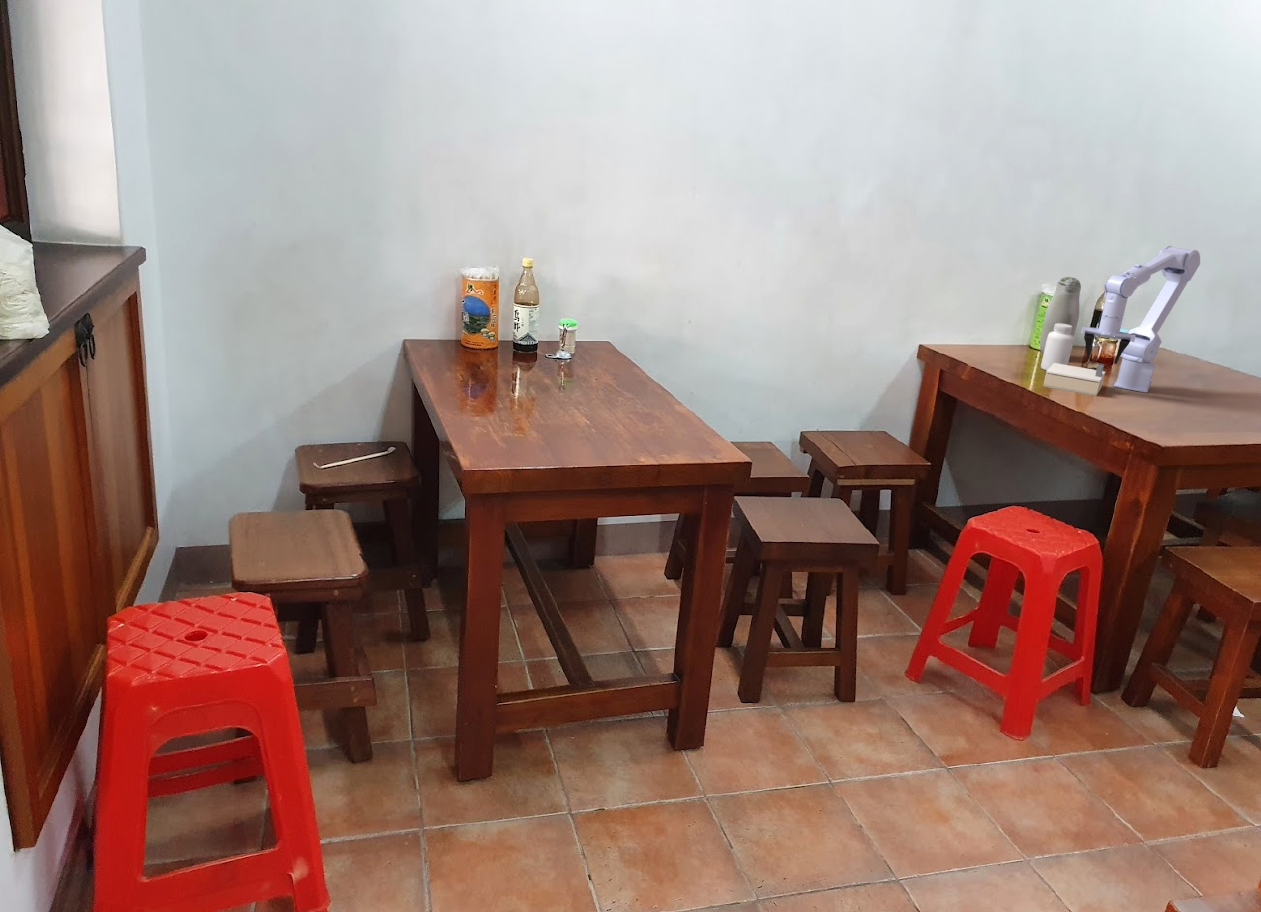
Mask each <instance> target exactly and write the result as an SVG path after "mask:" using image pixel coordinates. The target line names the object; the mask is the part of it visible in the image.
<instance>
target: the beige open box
mask: <svg viewBox="0 0 1261 912" xmlns="http://www.w3.org/2000/svg"><path fill="white" fill-rule="evenodd" d="M1105 375H1106V373H1105V374H1104V376H1103V377H1102V379H1101V381H1100V382H1096V381H1090V380H1084V379H1079V378H1073V377H1068V376H1062V375H1056V374H1051V373H1046V372H1045V375H1044V380H1043V384H1042V385H1043V387H1045V388H1051V389H1055V390H1062V391H1066V392H1072V393H1077V394H1083V395H1088V396H1094V397H1097V395H1098V393H1099V392H1100V390H1102V387H1103V384H1104V380H1105Z"/></svg>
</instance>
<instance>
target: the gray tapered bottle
mask: <svg viewBox="0 0 1261 912" xmlns="http://www.w3.org/2000/svg"><path fill="white" fill-rule="evenodd" d="M1081 290H1082V285H1081V282H1080V280H1079V279H1077V278H1075V277H1072V276H1066V277H1062V278H1061V279H1060V280H1059V281H1058V282H1057V284H1056V288H1055V290H1054V293H1053V296H1052V298H1051V299H1050V302H1049V303H1048V306H1047V308H1046V311H1045V315H1044V317H1043V318H1044V319H1043V325H1042V329H1041V334H1040V340H1039V350H1040V353H1041V354H1042V355H1043V354H1044V350H1045V346H1046V341H1047V337H1048V334H1049V333H1050V332H1053V331H1054V326H1055V324H1057V323H1061V324H1067V325H1071V326H1072V331H1071V333H1070V334H1071V335H1073V337H1074V338H1075V334H1076V330H1077V326H1078V322H1079V318H1080V296H1081Z"/></svg>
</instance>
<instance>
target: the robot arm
mask: <svg viewBox="0 0 1261 912" xmlns="http://www.w3.org/2000/svg"><path fill="white" fill-rule="evenodd" d="M1200 265H1201V254H1200V252H1199V251H1198V250H1196V249H1193V250H1192V249H1189V248H1188V249H1187V248H1182V247H1174V246H1172V245H1167V246H1165V247H1163V248H1162V249H1160V250H1159V253H1158V255H1156V256H1155V257H1154V258H1152V259H1151V260H1149V261H1148V262H1147V263H1145V264H1143V263H1136V264H1134V265H1133V266H1132V267H1131V268H1128V269H1127V270H1125V271H1123V272H1122V273H1120V274H1113V275H1110V276H1109V277H1108V278H1107V279H1106V281H1105V283H1104V284H1103V290H1104V300H1105V301H1104V304H1103V305H1104V306H1103V309H1102V312H1101V318H1100V322H1099V327H1090V326H1089V327H1087V326H1082V327H1081V333H1080V334H1081V335H1083V336H1084V337H1083V340H1084V343H1085V348H1086V358H1085V359H1086V360H1090V358H1091V355H1092V348H1093V344H1094V340H1095V336H1097V337H1102V338H1109V339H1114V340H1119V344H1118V349H1117V353H1116V356H1115V359H1114V362H1113V364H1114V365H1117V364H1118V362H1119V359H1120V357H1121V358H1122V359H1121V363H1120V367H1119V372H1118V375H1117V380H1116V381H1115V382H1114V384H1113V388H1117V389H1124V390H1130V391H1135V392H1141V393H1148V392H1149V390H1150V387H1151V386H1152V382H1153V381H1152V378H1153V375H1154V370H1155V366H1156V363H1155V362H1152V361H1153V360H1154V359H1155V357H1157V355H1158V353H1159V348H1160V345H1161V344H1162V340H1161V337H1160V336H1159V334H1158V333H1159V331H1160V329H1161V328H1162V326H1163V324H1164V323H1165V321H1166V320H1167V317H1169V315H1170V313H1171V311H1172V310H1173V308H1174V306H1175V305H1176V303H1177V301H1178V299H1179V297H1180V296H1181V294H1182V293H1183V291H1184V289H1186V286H1187V285H1188V282H1189V281H1191V280H1192V278H1193V277H1194V276H1195V274H1196V273H1197V270H1198V269H1199V267H1200ZM1160 271H1161V272H1162V276H1163V277H1165V278H1166V282H1165V283H1164V285H1163V287H1162V288H1161V290H1160V292H1159V293H1158V295H1157V297H1156V298H1155V300H1154V302H1153V304H1152V305H1151V307H1150V309H1149V310H1148V312H1147V314H1146V315H1145V317H1144V318H1143V320H1142V322H1141V323H1140V325H1139V326H1137V327H1134V328H1132V329H1129V330H1128V332H1124V331H1121V328H1122V324H1123V319H1124V315H1125V311H1126V308H1127V302H1128V299H1129V298H1130V297H1131V296H1132V295H1133V294H1134V293H1135V291H1136V290H1137V288H1139V286H1141V285H1144V284H1145V283H1147V282H1148V281H1150V279H1151V276H1152V275H1154V274H1156V273H1158V272H1160Z"/></svg>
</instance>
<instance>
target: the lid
mask: <svg viewBox="0 0 1261 912" xmlns="http://www.w3.org/2000/svg"><path fill="white" fill-rule="evenodd" d="M1104 367H1105V363H1098V364H1097V366H1096V369H1091V368H1087V367H1080V366H1076V365H1075V366H1074V365H1069V364H1068V365H1064V364H1058V363H1053V364H1052V365H1051V367H1050V368H1049V369H1048V370H1045V371H1046V372H1045V374H1046V373H1051V374H1056V375H1062V376H1068V377H1073V378H1079V379H1084V380H1090V381H1096V382H1100V381H1101V379H1102V377H1103V376H1104V374H1105V375H1106V371H1104ZM1104 377H1105V376H1104Z"/></svg>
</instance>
